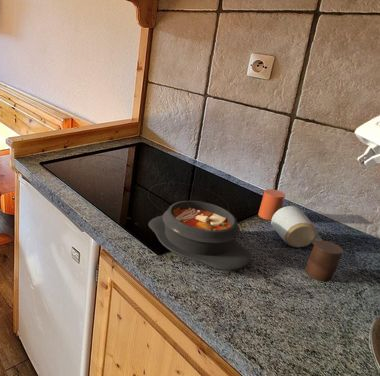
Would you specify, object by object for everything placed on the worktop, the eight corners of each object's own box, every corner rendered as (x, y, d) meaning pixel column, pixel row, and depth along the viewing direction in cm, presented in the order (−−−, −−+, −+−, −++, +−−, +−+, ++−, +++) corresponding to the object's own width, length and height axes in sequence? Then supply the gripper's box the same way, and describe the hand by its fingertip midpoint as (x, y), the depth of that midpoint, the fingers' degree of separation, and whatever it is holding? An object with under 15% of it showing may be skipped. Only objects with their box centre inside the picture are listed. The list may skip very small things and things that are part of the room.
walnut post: (324, 268, 89) (334, 241, 86) (337, 282, 85) (348, 254, 82) (300, 266, 89) (310, 239, 87) (312, 280, 85) (322, 252, 82)
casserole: (130, 232, 101) (134, 202, 98) (181, 214, 110) (186, 186, 107) (214, 287, 82) (222, 253, 79) (267, 260, 91) (277, 228, 88)
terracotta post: (273, 212, 113) (280, 189, 110) (281, 221, 108) (288, 197, 105) (255, 211, 113) (261, 188, 110) (262, 220, 108) (269, 196, 106)
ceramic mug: (281, 248, 96) (291, 220, 92) (267, 230, 103) (275, 204, 100) (327, 252, 95) (339, 223, 92) (309, 233, 103) (319, 207, 99)
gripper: (386, 100, 94) (329, 139, 99) (461, 125, 75) (387, 171, 80) (398, 119, 96) (342, 157, 100) (475, 148, 77) (401, 192, 82)
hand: (362, 163), depth 90 cm, fingers closed
